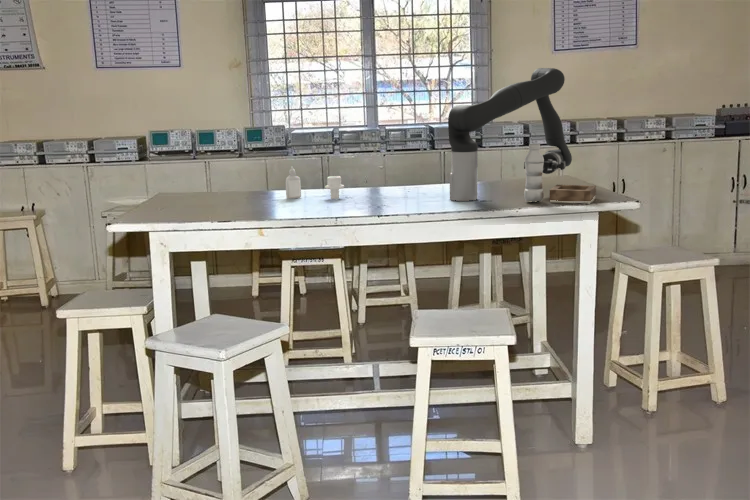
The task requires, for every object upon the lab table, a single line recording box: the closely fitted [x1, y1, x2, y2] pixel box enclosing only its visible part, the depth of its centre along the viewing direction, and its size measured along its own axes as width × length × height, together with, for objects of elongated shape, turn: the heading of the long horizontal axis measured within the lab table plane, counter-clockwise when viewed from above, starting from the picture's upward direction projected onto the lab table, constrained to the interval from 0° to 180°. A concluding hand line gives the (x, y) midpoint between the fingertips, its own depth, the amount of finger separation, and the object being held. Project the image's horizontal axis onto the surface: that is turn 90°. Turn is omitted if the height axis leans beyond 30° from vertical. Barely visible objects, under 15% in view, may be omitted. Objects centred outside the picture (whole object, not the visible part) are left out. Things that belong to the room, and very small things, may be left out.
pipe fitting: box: [324, 175, 345, 200], centre depth 277 cm, size 6×7×8 cm
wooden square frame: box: [549, 184, 597, 201], centre depth 256 cm, size 14×14×4 cm
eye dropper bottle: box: [285, 165, 302, 200], centre depth 280 cm, size 4×6×12 cm
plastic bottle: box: [523, 143, 545, 202], centre depth 253 cm, size 6×7×20 cm
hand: (540, 167), depth 262 cm, fingers open, 8 cm apart
